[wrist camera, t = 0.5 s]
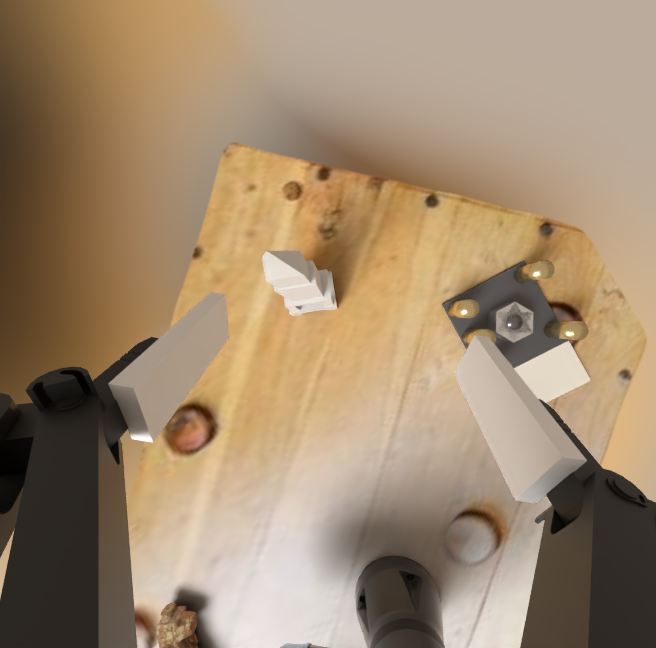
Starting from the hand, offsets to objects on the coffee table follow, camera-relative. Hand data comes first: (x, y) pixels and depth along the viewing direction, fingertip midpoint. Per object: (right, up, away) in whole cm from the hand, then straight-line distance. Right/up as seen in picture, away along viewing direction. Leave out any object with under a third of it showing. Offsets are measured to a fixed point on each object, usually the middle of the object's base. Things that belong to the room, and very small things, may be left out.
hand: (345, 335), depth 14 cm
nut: (+31, +1, +32) cm, 45 cm away
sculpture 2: (-4, +6, +35) cm, 36 cm away
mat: (+33, -3, +33) cm, 46 cm away
